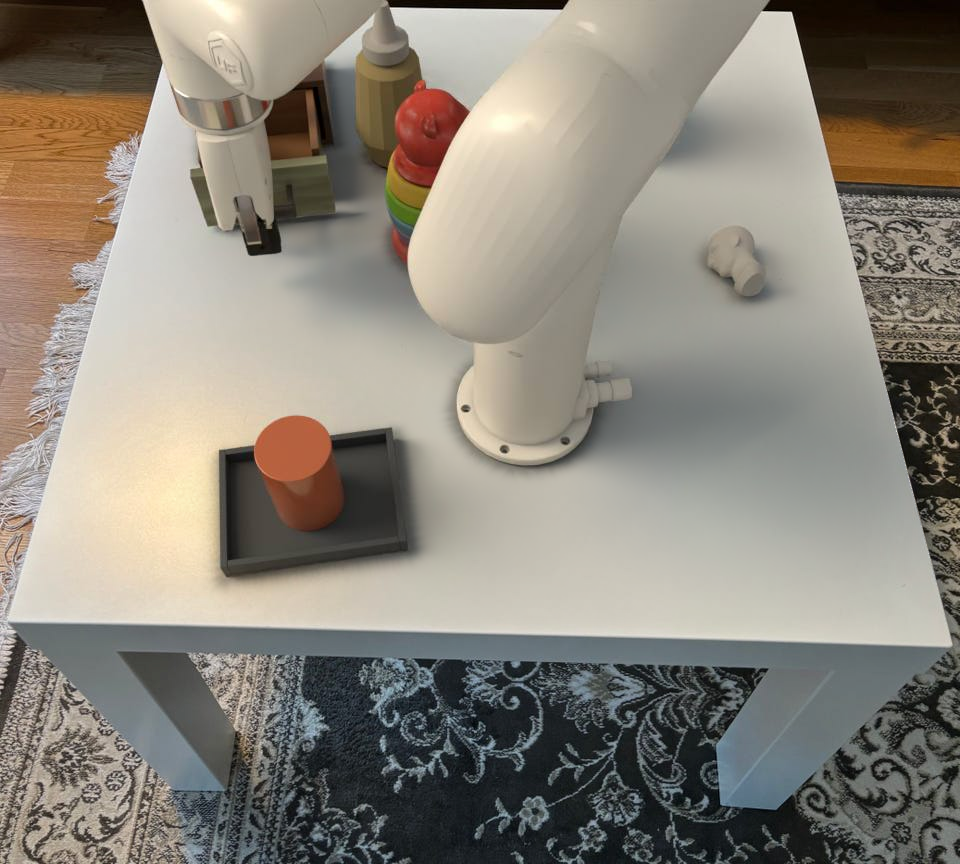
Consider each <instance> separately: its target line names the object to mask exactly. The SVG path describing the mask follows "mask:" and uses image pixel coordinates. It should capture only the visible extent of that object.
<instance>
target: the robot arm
mask: <svg viewBox="0 0 960 864" xmlns="http://www.w3.org/2000/svg"><path fill="white" fill-rule="evenodd" d="M770 1H771V0H568V1H567V3H566V4H565V5H564V7H563V9H562V10H561V11H560V12H559V13H558V14H557V16H556V17H554V19H553V20H552V21H551V22H550V23H549V24H547V26H546V27H545V28H544V29H543V30H542V31H541V32H540V33H539V34H538V35H537V36H536V37H535V39H534V40H532V42H531V43H530V44H529V45H528V46H527V47H526V48H525V49H524V50H523V51H522V52H521V54H520V55H518V57H517V58H516V59H515V60H514V61H512V63H511V65H510V66H509V67H508V68H507V69H505V71H504V72H503V73H502V74H501V75H500V76H499V77H498V79H496V81H495V82H493V84H492V85H491V86H490V87H489V88H488V89H487V91H486V92H485V93H484V94H483V95H482V96H481V97H480V99H479V100H478V102H477V103H476V104H475V105H474V106H473V108H472V109H471V110H470V113H469V115H468V116H467V118H466V119H465V121H464V122H463V124H462V125H461V127H460V128H459V130H458V132H457V133H456V135H455V137H454V139H453V140H452V142H451V144H450V146H449V148H448V151H447V153H446V155H445V157H444V160H443V162H442V164H441V167H440V169H439V171H438V174H437V176H436V178H435V181H434V183H433V185H432V188H431V190H430V192H429V195H428V197H427V199H426V202H425V204H424V206H423V209H422V211H421V213H420V216H419V218H418V220H417V223H416V225H415V228H414V230H413V233H412V236H411V239H410V243H409V248H408V264H407V270H408V271H407V272H408V277H409V281H410V285H411V287H412V290H413V292H414V293H413V294H414V295H415V297H416V300H418V302H419V305H420V306H421V307H422V309H423V311H424V312H425V313H426V314H427V315H428V317H429V318H430V319H431V320H432V321H433V322H434V323H435V324H436V325H437V326H438V327H440V328H441V329H442V330H444V331H445V332H447V333H448V334H450V335H452V336H454V337H456V338H458V339H460V340H463V341H467V342H470V343H473V365H471V366H470V367H469V369H468V370H467V372H465V374H464V375H463V377H462V379H461V382H460V383H459V386H458V389H457V394H456V413H457V419H458V422H459V424H460V428H461V430H462V432H463V433H464V434H465V436H466V437H467V439H468V440H469V441H470V442H471V443H472V444H473V445H474V447H475V448H477V449H478V450H479V451H481V452H482V453H483V454H485V455H487V456H488V457H490V458H493V459H495V460H497V461H499V462H503V463H506V464H510V465H517V466H539V465H543V464H548V463H551V462H554V461H557V460H559V459H561V458H563V457H564V456H566V455H568V454H569V453H571V452H572V451H574V450H575V449H576V448H577V446H578V445H579V444H581V443H582V441H583V440H584V438H585V437H586V435H587V434H588V432H589V429H590V426H591V424H592V419H593V416H594V408H597V407H598V406H599V403H605V402H617V401H626V400H632V397H633V388H632V383H631V380H630V378H627V377H626V378H618V379H611V380H610V379H609V380H608V381H604V382H596V381H595V380H594V379H590V378H601V377H609V376H612V374H613V373H612V372H613V371H612V370H613V369H612V363H611V361H610V360H602V361H596V362H592V363H586V361H587V356H588V352H589V345H590V340H591V335H592V329H593V325H594V319H595V315H596V313H597V307H598V302H599V297H600V291H601V288H602V282H603V279H604V274H605V271H606V268H607V264H608V262H609V258H610V255H611V252H612V249H613V246H614V243H615V240H616V237H617V235H618V231H619V229H620V226H621V223H622V220H623V217H624V215H625V213H626V212H627V210H628V209H629V208H630V206H631V205H632V204H633V202H634V201H635V199H636V198H637V196H638V195H639V194H640V192H641V191H642V190H643V188H644V187H645V185H646V184H647V182H648V181H649V180H650V179H651V178H652V175H653V174H654V173H655V172H656V170H657V168H658V167H659V166H660V164H661V163H662V161H663V160H664V159H665V157H666V155H667V154H668V153H669V151H670V149H671V148H672V146H673V145H674V143H675V141H676V140H677V138H678V136H679V134H681V133H680V132H681V130H682V129H683V128H684V125H685V123H686V122H687V119H688V118H689V116H690V114H691V113H692V111H693V109H694V107H695V106H696V104H698V103H697V102H698V101H699V99H700V98H701V97H702V95H703V93H704V92H705V90H707V88H708V86H709V85H710V83H711V82H712V81H713V80H714V78H715V76H717V74H718V73H719V71H720V70H721V68H723V66H724V65H725V63H726V62H727V61H728V59H729V58H730V57H731V56H732V54H733V53H734V51H735V50H736V49H737V48H738V46H739V45H740V43H741V42H742V41H743V40H744V38H745V37H746V36H747V34H748V32H749V31H750V29H751V28H752V26H753V25H754V24H755V22H756V20H757V19H758V18H759V16H760V14H761V13H762V12H763V10H764V9H765V8H766V6H767V5H768V4H769V2H770ZM383 2H384V0H142V3H143V7H144V9H145V13H146V16H147V18H148V21H149V25H150V28H151V32H152V35H153V38H154V40H155V43H156V47H157V49H158V53H159V55H160V59H161V62H162V65H163V67H164V71H165V73H166V76H167V77H166V78H167V79H168V83H169V85H170V89H171V92H172V95H173V98H174V102H175V105H176V108H177V110H178V114H179V116H180V118H181V120H182V121H183V123H184V124H185V125H186V126H187V127H189V128H191V129H192V130H194V132H195V131H196V133H195V136H196V142H197V148H198V147H199V152H200V157H201V161H202V166H203V170H204V174H205V177H206V181H207V185H208V189H209V193H210V196H211V200H212V204H213V207H214V211H215V215H216V219H217V222H218V227H219V229H221V230H222V231H223V232H226V231H233V230H234V228H235V225H236V224H235V220H236V216H237V218H238V220H239V223H240V225H239V228H240V232H241V235H242V238H243V243H244V246H245V248H246V252H247V255H248V256H249V257H255V256H256V257H257V256H266V255H274V254H280V253H282V251H283V250H282V238H281V233H280V229H279V225H278V220H277V221H276V217H275V212H274V206H273V182H272V169H271V158H270V151H269V144H268V138H267V133H266V128H265V123H264V119H265V118H266V117H267V116H268V115H269V113H270V111H271V109H272V106H273V100H274V99H277V98H279V97H281V96H283V95H285V94H287V93H288V92H289V91H291V90H292V89H293V88H294V87H295V86H296V85H297V84H299V83H300V82H301V81H302V80H303V79H304V78H305V77H306V76H307V75H309V74H310V73H311V72H312V71H313V70H314V69H315V68H316V67H317V66H319V65H320V64H321V63H322V62H323V60H324V61H325V60H326V59H327V58H328V56H330V55H331V54H332V53H333V52H335V50H337V49H338V48H339V47H340V46H341V45H342V44H343V43H345V41H347V40H348V39H349V38H350V37H351V36H352V35H353V34H355V33H356V32H357V31H358V30H359V29H360V28H362V26H363V25H365V24H366V23H367V22H368V21H369V20H370V19H371V18H372V16H374V15H375V12H376V11H377V9H378V8H379V7H380V6H381V4H382V3H383Z"/></svg>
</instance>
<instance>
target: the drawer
mask: <svg viewBox="0 0 960 864" xmlns="http://www.w3.org/2000/svg"><path fill="white" fill-rule="evenodd" d="M264 123H265V128H266V133H267V138H268V144H269V151H270V158H271V169H272V182H273V206H274V212H275V217H276V221H277V222H278V221H285V220H295V219H298V218H301V217H310V216H319V215H328V214H329V215H330V214H336V213H337V209H336V203H335V196H334V191H333V185H332V179H331V173H330V167H329V162H328V156H327V155H326V154H324V150H323V146H322V139H321V131H320V125H319V119H318V114H317V108H316V102H315V97H314V91H313V87H309V88H299V89H292V90H291V91H289V92H288V93H287V94H285V95H283V96H281V97H279V98H277V99H274V100H273V106H272V109H271V111H270V113H269V115H268V116H267V117H266V118H265V119H264ZM197 162H198V165H199V167H196V168H190V169H189V171H190V172H189V178H190V181H191V183H192V187H193V190H194V193H195V195H196V198H197V201H198V203H199V206H200V209H201V213H202V215H203V217H204V220H205V224H206V227H208V228H209V227H217V226H218V222H217V219H216V215H215V211H214V207H213V204H212V200H211V196H210V193H209V189H208V185H207V181H206V177H205V174H204V170H203V166H202V161H201V157H200V152H199V147H198V146H197ZM234 225H235V226H236V225H237V226H240V223H239V220H238V218H237V216H236V220H235V224H234ZM218 227H219V226H218Z"/></svg>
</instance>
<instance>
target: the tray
mask: <svg viewBox="0 0 960 864" xmlns="http://www.w3.org/2000/svg"><path fill="white" fill-rule="evenodd" d="M393 433H394V432H393V427H392V426H391V427H382V428H375V429H368V430H360V431H353V432H343V433H336V434H329V435H330V438H331V442H332V446H333V449H334V453H335V457H336V461H337V465H338V469H339V473H340V476H341V480H342V484H343V488H344V492H345V502H344V506H343V509H342V511H341V513H340V514H339V516H338V517H337V518H336V519H335V520H334V521H333V522H332V523H330V524H329V525H327V526H326V527H323V528H321V529H318V530H313V531H301V530H296V529H293V528H291V527H289V526H288V525H286V524H285V523H284V522H283V521H282V520H281V519H280V517H279V516H278V514H277V511H276V509H275V507H274V504H273V502H272V499H271V497H270V495H269V492H268V490H267V488H266V485H265V483H264V480H263V478H262V476H261V473H260V471H259V468H258V466H257V464H256V461H255V458H254V447H255V444H254V445H247V446H239V447H232V448H226V449H225V448H224V449H223V448H222V449H219V450H218V492H219V493H218V495H219V498H218V499H219V500H218V501H219V503H218V507H219V568H220V570H221V572H222V573H223V574H224V576H225V577H226V578H228V577H235V576H243V575H250V574H256V573H263V572H269V571H277V570H282V569H283V570H285V569H291V568H298V567H306V566H311V565H318V564H325V563H331V562H332V563H333V562H339V561H345V560H353V559H360V558H367V557H373V556H374V557H375V556H380V555H387V554H393V553H394V554H395V553H401V552H407V551H409V547H408V539H407V533H406V531H407V530H406V523H405V517H404V509H403V500H402V494H401V485H400V479H399V478H400V477H399V472H398V471H399V470H398V464H397V463H398V462H397V455H396V447H395V441H394V434H393Z"/></svg>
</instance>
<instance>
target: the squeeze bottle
mask: <svg viewBox="0 0 960 864" xmlns="http://www.w3.org/2000/svg"><path fill="white" fill-rule="evenodd" d="M373 16H374V17H373V24H372V26H371V27H368V29H366V30H365V31H364V33H363V34H362V36H361V45H362V49H361V50H360V51H359V53H358V54H357V55H356V57H355V66H354V67H355V131H356V133H357V135H358V137H359V138H360V140H361V142H362V144H363V146H364V148H365V149H366V151H367V153H368V155H369V157H370V158H371V159H372V161H373V163H375V164H377V165H378V166H380V167H384V168H387V169H388V166H389V162H390V159H391V156H392V154H393V152H394V151H395V149H396V147H397V146H398V144H399V142H398V139H397V135H396V130H395V117H396V114H397V111H398V109H399V108H400V106H401V104H402V103H403V102H404V101H405V100H406V99H407V98H408V97H409V96H410V95H412V94H414V88H415V85H416V84H417V83H418V82H419V81H420V80H423V76H422V75H423V74H422V69H421V63H420V62H421V61H420V57H419V56H418V53H417V52H416V50H415V49H414V48H412V47H411V46H410V39H409V34H408V33H407V31H406V30H405V29H404V28H403V27H401V26H399V25H396V23H395V20H394V17H393V16H394V15H393V14H392V10H391V8H390V4H389V1H388V0H384V2H383V3H382V4H381V6H380V7H379V8H378V9H377V11H376V12H375V13H374V14H373Z"/></svg>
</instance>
